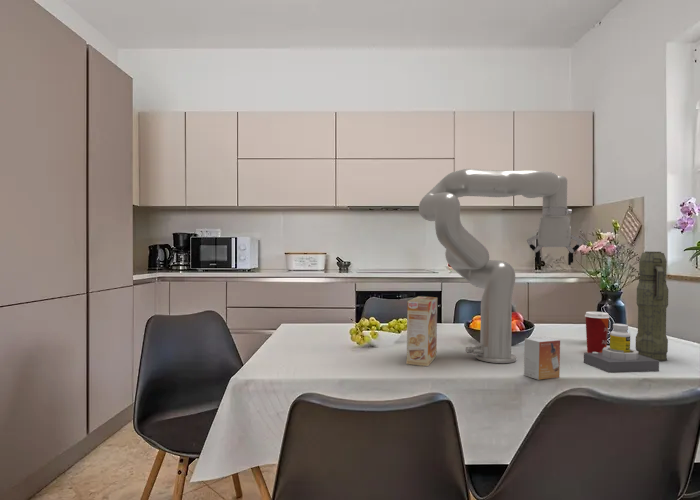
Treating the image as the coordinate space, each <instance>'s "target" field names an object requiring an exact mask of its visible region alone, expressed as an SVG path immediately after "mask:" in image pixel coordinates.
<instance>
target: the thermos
mask: <svg viewBox="0 0 700 500" xmlns="http://www.w3.org/2000/svg"><path fill="white" fill-rule="evenodd" d="M665 255H666V254H665V253H664V252H662V251H644V252H641V255H640V257H639V261H638V262H639V265H638V274H639V279H638V284H637V287H636V302H635V303H636V305H637V333H636V336H635V350H636V351H639V355H642V356H645V357H648V358H651V359H655V360H658V361H659V363H660V362H667V361H668V357H667V356H668V351H669V344H668V343H669V340H668V337H667V308H668V306H669V288H668V285H667V279H666V278H667V268H668V267H667V265H668V264H667V262H668V261H667V258H666V256H665Z"/></svg>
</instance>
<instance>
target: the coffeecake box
mask: <svg viewBox="0 0 700 500" xmlns="http://www.w3.org/2000/svg"><path fill="white" fill-rule="evenodd" d="M438 299H439V298H438V297H437V296H436V297H434V296H419V295H418V296H416V297H414V298H411V299H409V300H407V308H406V309H407V311H406V312H407V313H406V314H407V316H406V318H407V320H406V321H407V322H406V365H410V366H411V365H412V366H421V367H429V366H430V365H431V364H432V363H433V361H434V360H435V358H436V357H437V342H438V341H437V338H438V337H437V335H438V334H437V332H438V331H437V329H438Z"/></svg>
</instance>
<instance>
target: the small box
mask: <svg viewBox="0 0 700 500" xmlns="http://www.w3.org/2000/svg"><path fill="white" fill-rule="evenodd" d="M523 349H524V351H523V352H524V354H523V355H524V356H523V357H524V358H523V360H524V361H523V362H524V363H523V364H524V365H523V375H524V376H525V377H529V378H532V379H535V380H538V381H539V380H548V379H558V378H560V369H561V367H560V365H561V362H560V360H561V340H560V339H556V338H552V337H547V336H542V337H532V338H530V337H529V338H528V337H527V338H524V348H523Z"/></svg>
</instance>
